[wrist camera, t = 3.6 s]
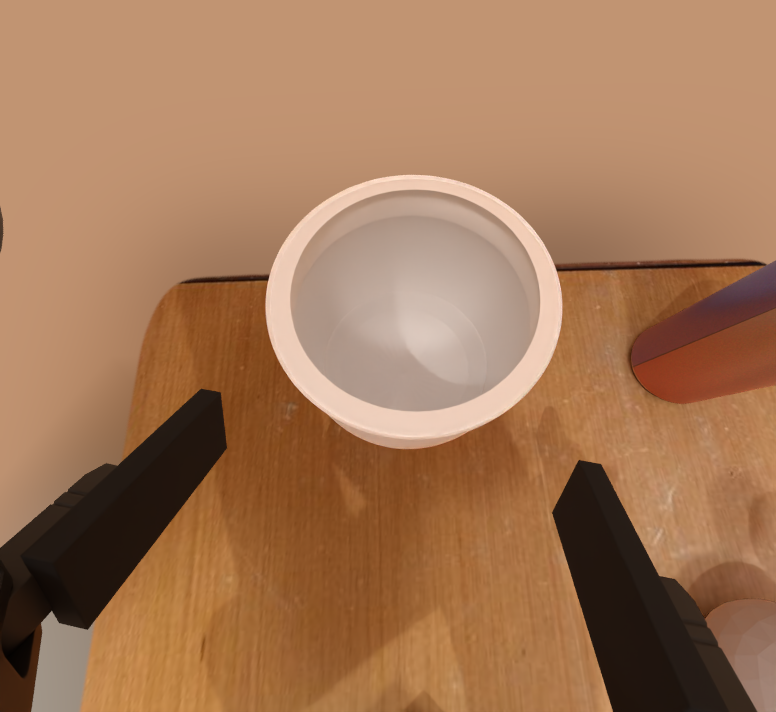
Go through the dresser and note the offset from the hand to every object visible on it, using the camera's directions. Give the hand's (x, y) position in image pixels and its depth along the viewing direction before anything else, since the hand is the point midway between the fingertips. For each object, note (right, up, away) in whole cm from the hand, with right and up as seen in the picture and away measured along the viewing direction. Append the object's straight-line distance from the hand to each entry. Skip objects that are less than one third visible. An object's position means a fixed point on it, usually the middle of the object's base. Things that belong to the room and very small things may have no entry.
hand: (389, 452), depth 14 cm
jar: (+1, +2, +14) cm, 14 cm away
